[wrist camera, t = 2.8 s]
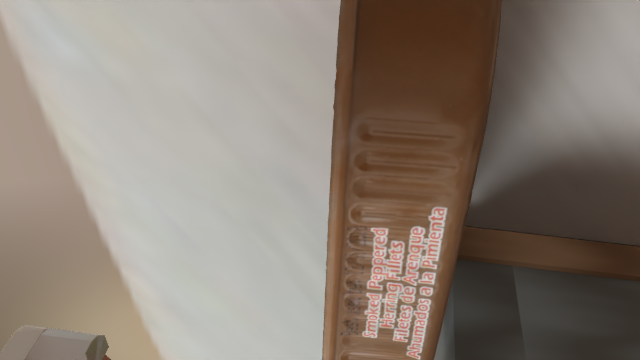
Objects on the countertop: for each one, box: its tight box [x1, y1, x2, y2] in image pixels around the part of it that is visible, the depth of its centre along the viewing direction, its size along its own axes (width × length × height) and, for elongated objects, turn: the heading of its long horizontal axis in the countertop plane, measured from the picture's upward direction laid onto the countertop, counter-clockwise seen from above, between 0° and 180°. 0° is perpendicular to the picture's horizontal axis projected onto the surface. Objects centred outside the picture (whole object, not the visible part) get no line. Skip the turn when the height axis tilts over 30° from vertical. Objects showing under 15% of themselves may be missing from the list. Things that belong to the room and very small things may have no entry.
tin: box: [322, 0, 502, 360], centre depth 15 cm, size 15×3×8 cm, turn 178°
